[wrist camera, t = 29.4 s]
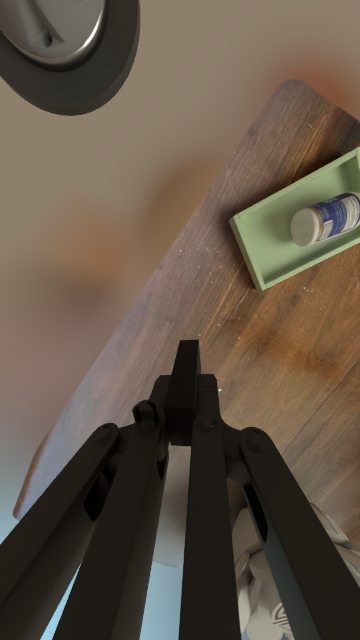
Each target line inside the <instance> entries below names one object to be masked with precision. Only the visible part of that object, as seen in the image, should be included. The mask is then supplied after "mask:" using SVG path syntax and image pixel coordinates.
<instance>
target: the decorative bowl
mask: <svg viewBox="0 0 360 640" xmlns="http://www.w3.org/2000/svg"><path fill="white" fill-rule="evenodd" d="M310 505H311V507H312V508H313V510H314V512H315V513H316V515H317V517H318V518H319V520H320V522H321V523H322V525H323V527H324V528H325V530H326V532H327V533H328V535H329V537H330V538H331V540H332V542H333V543H334V545H335V547H336V548H337V550H338V552H339V553H340V555H341V557H342V558H343V560H344V562H345V563H346V565H347V567H348V568H349V570H350V572H351V573H352V575H353V577H354V578H355V580H356V582H357V583H358V585H359V587H360V574H359V573H360V546H359V545H357V544H355V543H353V542H351V541H349V540H348V538H347V537H346V536H345V534H344V533H343V532H342V530H341V529H340V528H339V527H338V526H337V524H336V523H335V522H334V521H333V520H332V519H331V518H330V517H329V516H328V515H327V514H326V513H324V512H323V511H322V510H321V509H320V508H318V507H317V506H316V505H314V504H313V503H311V502H310ZM232 543H233V554H234V565H235V575H236V586H237V597H238V607H239V618H240V629H241V634H242V633H243V632H244V630H245V627H246V629H247V632H248V635H249V638H250V640H280V639H281V638H282V635H283V632H284V633H285V635H286V636H287V638H288V639H289V640H294V637H293V634H292V631H291V628H290V625H289V622H288V620H287V617H286V614H285V611H284V608H283V605H282V602H281V600H280V597H279V594H278V591H277V588H276V585H275V582H274V579H273V577H272V574H271V571H270V568H269V565H268V562H267V559H266V557H265V554H264V551H263V548H262V545H261V542H260V539H259V537H258V534H257V531H256V528H255V525H254V522H253V519H252V517H251V514H250V511H249V508H248V507H247V508H246V509H245V508H244V509H242V510H241V511H240V513H239V515H238V517H237V519H236V521H235V525H234V528H233V532H232Z"/></svg>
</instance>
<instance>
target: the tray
mask: <svg viewBox="0 0 360 640" xmlns="http://www.w3.org/2000/svg"><path fill="white" fill-rule="evenodd" d="M347 192H357V193H360V147H358V148H356V149H354V150H353V151H351V152H349V153H347V154H345V155H343V156H342V157H340V158H338V159H336V160H334V161H333V162H331V163H329V164H327V165H325V166H323V167H322V168H320V169H318V170H316V171H314V172H313V173H311V174H309V175H307V176H305V177H304V178H302V179H300V180H298V181H296V182H294V183H293V184H291V185H289V186H287V187H285V188H284V189H282V190H280V191H278V192H276V193H275V194H273V195H271V196H269V197H267V198H265V199H264V200H262V201H260V202H258V203H256V204H255V205H253V206H251V207H249V208H247V209H246V210H244V211H242V212H240V213H238V214H236V215H235V216H233V217H232V218H231V219H230V220H229V223H230V225H231V228H232V230H233V233H234V235H235V238H236V240H237V243H238V245H239V248H240V250H241V253H242V255H243V258H244V260H245V263H246V265H247V268H248V270H249V273H250V275H251V278H252V280H253V283H254V285H255V288H256V290H261V291H263V290H265V289H266V288H269V287H271V286H273V285H275V284H277V283H279V282H281V281H283V280H285V279H287V278H289V277H291V276H293V275H295V274H297V273H299V272H301V271H303V270H305V269H307V268H309V267H311V266H313V265H315V264H317V263H319V262H321V261H323V260H325V259H327V258H329V257H331V256H333V255H335V254H337V253H339V252H341V251H343V250H345V249H347V248H349V247H351V246H353V245H355V244H357V243H359V242H360V224H359V225H358V226H357V227H356V228H354V229H353V230H351V231H348V232H346V233H343V234H341V235H338V236H335V237H332V238H329V239H326V240H324V241H321V242H318V243H315V244H313V245H310V246H306V247H300V246H298V245H297V244H295V242H294V241H293V239H292V236H291V231H290V225H291V221H292V218H293V216H294V215H295V214H296V213H297V212H298V211H300V210H302V209H304V208H307V207H309V206H312V205H315V204H317V203H320V202H322V201H325V200H328V199H330V198H333V197H336V196H338V195H341V194H343V193H347Z"/></svg>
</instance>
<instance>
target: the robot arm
mask: <svg viewBox="0 0 360 640" xmlns="http://www.w3.org/2000/svg"><path fill="white" fill-rule="evenodd" d="M107 19H108V0H0V30H1V31H2V32H3V34H4V35H5V37H6V38H7V39H8V41H9V42H10V43H11V45H12V46H13V47H14V48H15V49H16V51H17V52H18V53H19V54H20V55H21V56H23V57H24V58H25V59H26V60H27V61H29V62H30V63H32V64H33V65H35V66H37V67H39V68H42V69H44V70H47V71H52V72H68V71H72V70H74V69H77V68H79V67H81V66H82V65H84V64H85V63H86V62H87V61H88V60H89V59H90V58H91V57H92V56H93V55H94V53H95V52H96V51H97V49H98V47H99V45H100V43H101V41H102V39H103V36H104V33H105V29H106V25H107ZM132 412H133V415H134V419H135V423H134V424H131V425H128V426H125V427H121V428H118V427H117V425H116V424H114V423H107V424H103V425H102V426H100V427H98V428H97V429H96V430H95V431H94V432H93V433H92V435H91V436H90V437H89V438H88V439H87V441H86V442H85V443H84V444H83V445H82V447H81V448H80V449H79V450H78V452H77V453H76V454H75V455H74V456H73V458H72V459H71V460H70V461H69V462H68V464H67V465H66V466H65V467H64V468H63V470H62V471H61V472H60V473H59V474H58V476H57V477H56V478H55V479H54V480H53V482H52V483H51V484H50V485H49V487H48V488H47V489H46V490H45V491H44V493H43V494H42V495H41V496H40V497H39V499H38V500H37V501H36V502H35V503H34V505H33V506H32V507H31V508H30V509H29V511H28V512H27V513H26V514H25V516H24V517H23V518H22V519H21V520H20V522H19V523H18V524H17V525H16V526H15V528H14V529H13V530H12V531H11V532H10V534H9V535H8V536H7V537H6V538H5V540H4V541H3V542H2V543H1V544H0V640H40V639H41V637H42V635H43V633H44V631H45V629H46V627H47V626H48V624H49V622H50V620H51V618H52V616H53V614H54V612H55V610H56V609H57V607H58V605H59V603H60V601H61V599H62V597H63V596H64V594H65V592H66V590H67V588H68V586H69V584H70V582H71V580H72V579H73V577H74V575H75V573H76V571H77V569H78V567H79V565H80V564H81V566H80V568H79V571H78V574H77V576H76V579H75V581H74V584H73V587H72V589H71V592H70V594H69V597H68V600H67V602H66V605H65V607H64V610H63V613H62V616H61V618H60V620H59V623H58V626H57V628H56V631H55V633H54V636H53V639H52V640H139V639H140V632H141V626H142V620H143V614H144V608H145V602H146V595H147V589H148V583H149V577H150V571H151V565H152V559H153V553H154V547H155V540H156V534H157V528H158V522H159V516H160V510H161V504H162V497H163V491H164V485H165V479H166V473H167V467H168V461H169V450H168V446H169V440H170V443H171V445H175V446H191V459H190V474H189V489H188V504H187V519H186V534H185V549H184V564H183V580H182V596H181V610H180V626H179V640H241V629H240V618H239V607H238V597H237V586H236V575H235V565H234V554H233V543H232V533H231V522H230V511H229V501H228V490H227V479H226V477H228V478H230V479H232V480H234V481H236V482H238V483H240V485H241V488H242V491H243V494H244V496H245V499H246V502H247V505H248V508H249V511H250V514H251V517H252V519H253V522H254V525H255V528H256V531H257V534H258V537H259V539H260V542H261V545H262V548H263V551H264V554H265V557H266V559H267V562H268V565H269V568H270V571H271V574H272V577H273V579H274V582H275V585H276V588H277V591H278V594H279V597H280V600H281V602H282V605H283V608H284V611H285V614H286V617H287V620H288V622H289V625H290V628H291V631H292V634H293V637H294V640H360V587H359V585H358V583H357V582H356V580H355V578H354V577H353V575H352V573H351V572H350V570H349V568H348V567H347V565H346V563H345V562H344V560H343V558H342V557H341V555H340V553H339V552H338V550H337V548H336V547H335V545H334V543H333V542H332V540H331V538H330V537H329V535H328V533H327V532H326V530H325V528H324V527H323V525H322V523H321V522H320V520H319V518H318V517H317V515H316V513H315V512H314V510H313V508H312V507H311V505H310V503H309V502H308V500H307V498H306V497H305V495H304V493H303V492H302V490H301V488H300V487H299V485H298V483H297V482H296V480H295V478H294V476H293V475H292V473H291V471H290V470H289V468H288V466H287V465H286V463H285V461H284V460H283V458H282V456H281V455H280V453H279V451H278V450H277V448H276V446H275V445H274V443H273V441H272V440H271V438H270V437H269V436H268V435H267V433H265V432H264V431H262V430H261V429H258V428H255V427H247V428H245V429H243V430H242V431H240V430H237V429H234V428H232V427H230V426H228V425H227V424H226V423H225V422H224V421H223V420H222V418H221V416H220V409H219V398H218V388H217V379H216V378H215V376H214V375H213V374H201V363H200V352H199V341H198V340H180V343H179V347H178V351H177V355H176V359H175V363H174V367H173V370H172V374H171V375H160V376H159V378H158V379H157V380H156V381H155V384H154V388H153V390H152V393H151V395H150V398H149V399H148V400H143V401H141V402H139V403H138V404H137V405H135V406H134V408H133V409H132ZM82 560H83V561H82ZM81 562H82V563H81Z"/></svg>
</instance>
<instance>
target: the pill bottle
mask: <svg viewBox="0 0 360 640" xmlns="http://www.w3.org/2000/svg"><path fill="white" fill-rule="evenodd" d="M359 224H360V193H357V192H347V193H343V194H341V195H338V196H336V197H333V198H330V199H328V200H325V201H322V202H320V203H317V204H315V205H312V206H309V207H307V208H304V209H302V210H300V211H298V212H297V213H296V214H295V215H294V216H293V218H292V221H291V225H290V231H291V236H292V239H293V241H294V242H295V244H297V245H298V246H300V247H306V246H310V245H313V244H315V243H318V242H321V241H324V240H326V239H329V238H332V237H335V236H338V235H341V234H343V233H346V232H348V231H351V230H353V229H354V228H356V227H357V226H358V225H359Z"/></svg>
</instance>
